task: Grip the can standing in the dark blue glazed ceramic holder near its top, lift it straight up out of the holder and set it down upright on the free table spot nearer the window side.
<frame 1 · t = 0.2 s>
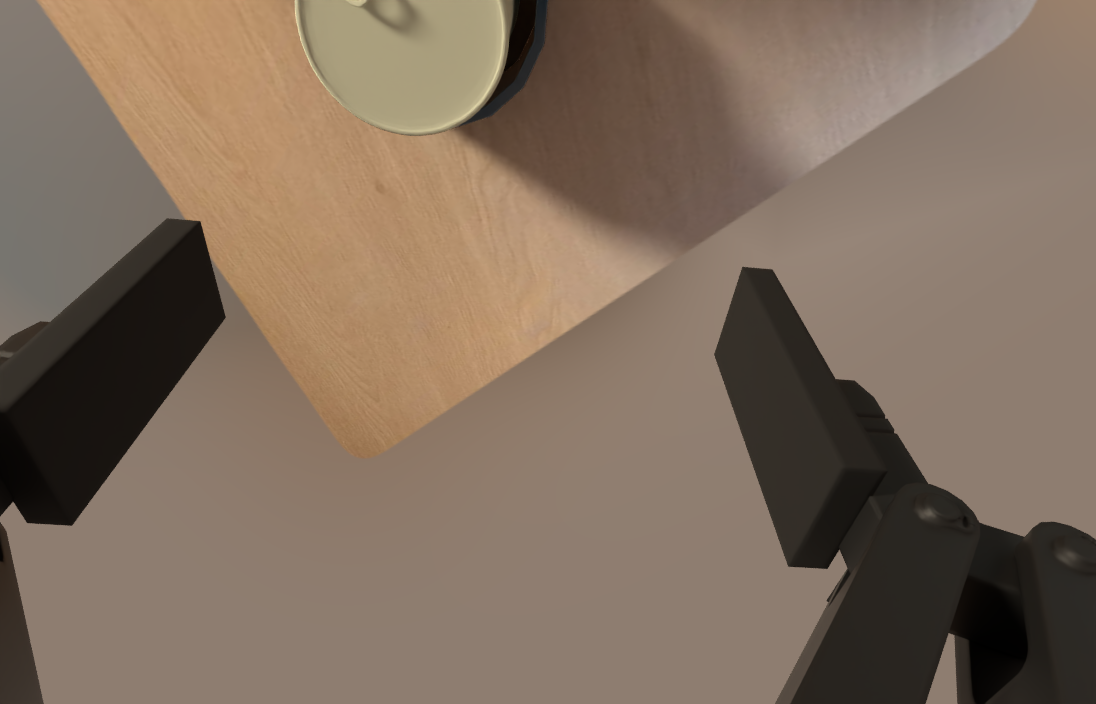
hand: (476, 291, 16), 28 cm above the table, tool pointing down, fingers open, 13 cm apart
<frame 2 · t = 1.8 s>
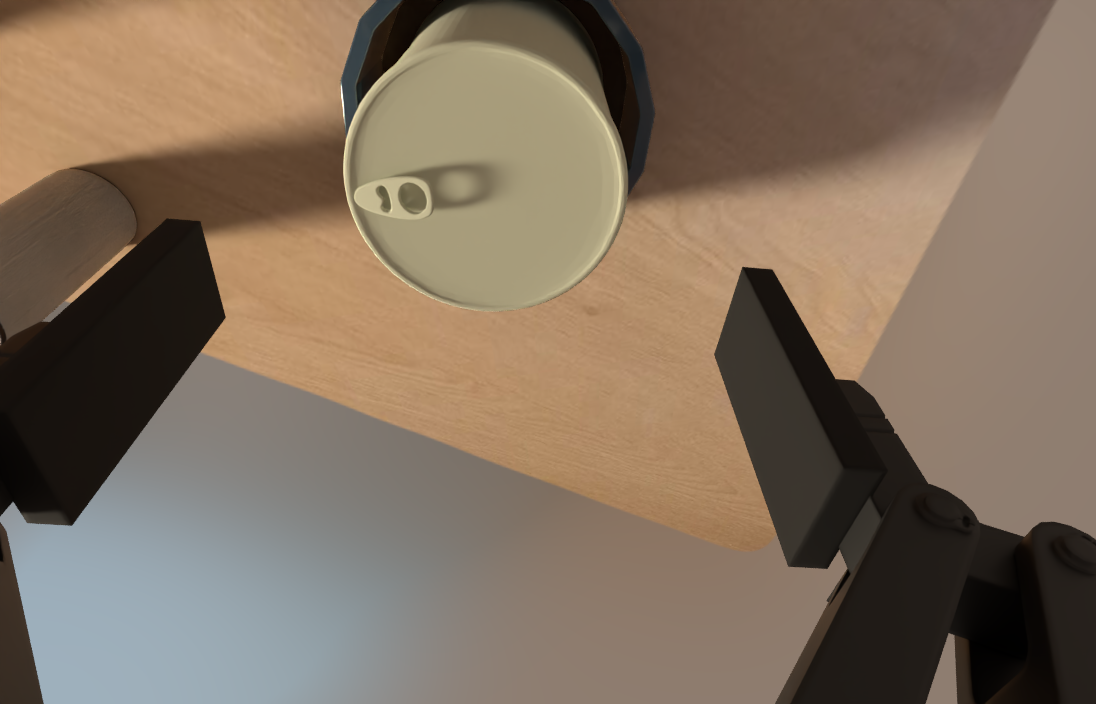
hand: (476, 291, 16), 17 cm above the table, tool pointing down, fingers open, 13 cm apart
can: (505, 93, 29), resting in holder
planter: (93, 208, 33), on the table
holder: (504, 94, 29), on the table
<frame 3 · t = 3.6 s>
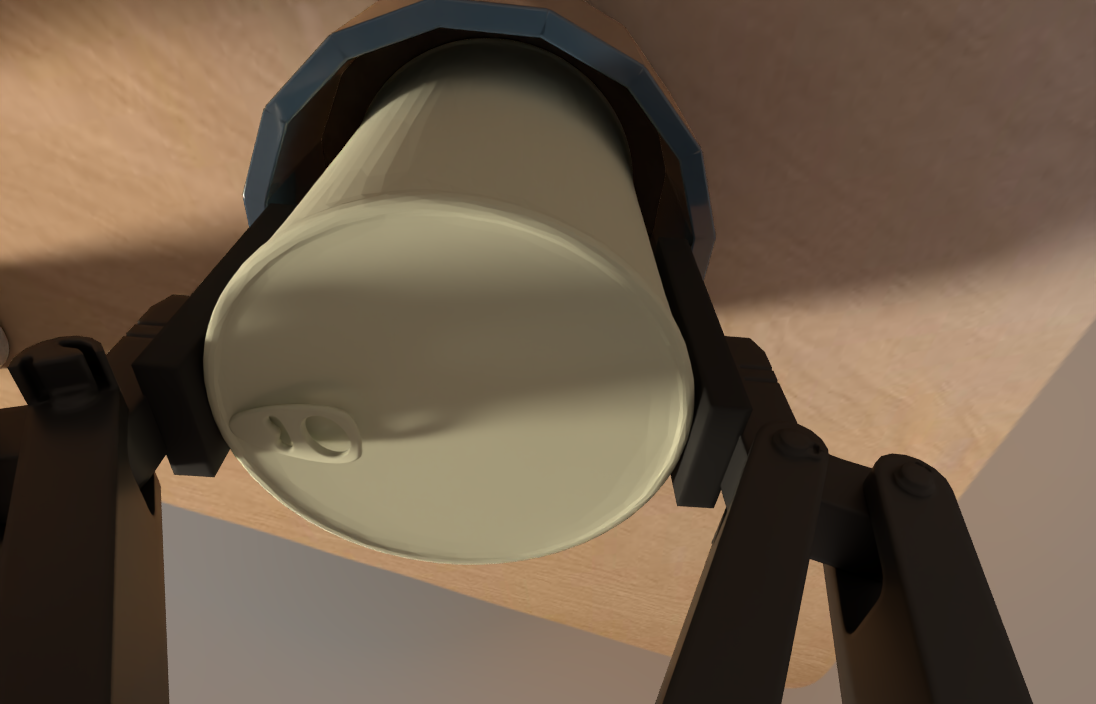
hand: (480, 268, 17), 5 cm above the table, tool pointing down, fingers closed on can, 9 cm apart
can: (495, 184, 21), resting in holder, touching gripper
holder: (495, 187, 21), on the table
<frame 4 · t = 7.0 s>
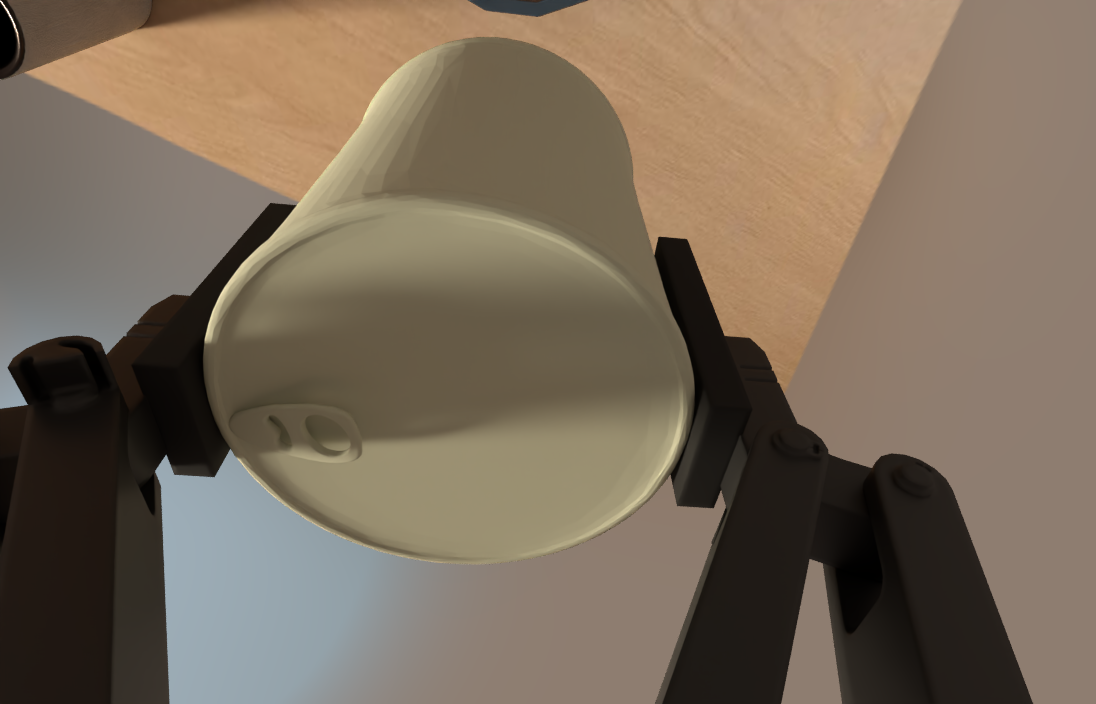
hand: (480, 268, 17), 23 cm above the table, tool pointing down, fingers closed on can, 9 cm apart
can: (495, 184, 21), point 17 cm above the table, touching gripper
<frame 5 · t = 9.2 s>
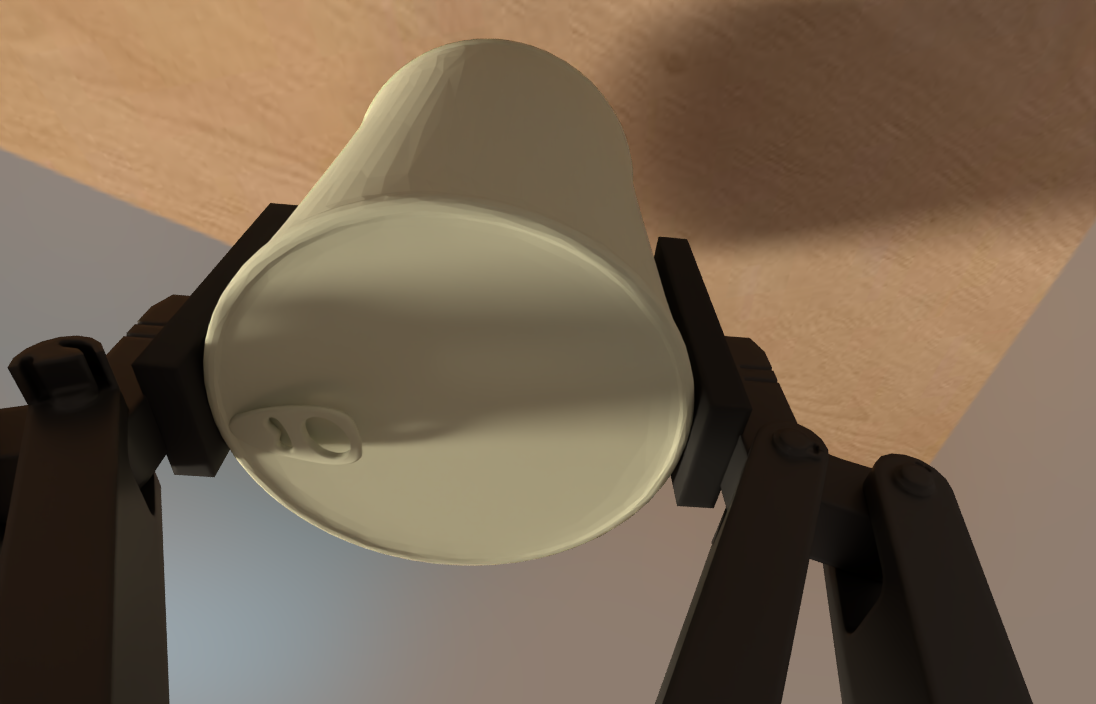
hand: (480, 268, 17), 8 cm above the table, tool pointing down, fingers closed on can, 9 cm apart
can: (495, 185, 21), point 2 cm above the table, touching gripper
when the fingers open (5 cm above the table, at t = 10.5 s): can stays where it is, on the table.
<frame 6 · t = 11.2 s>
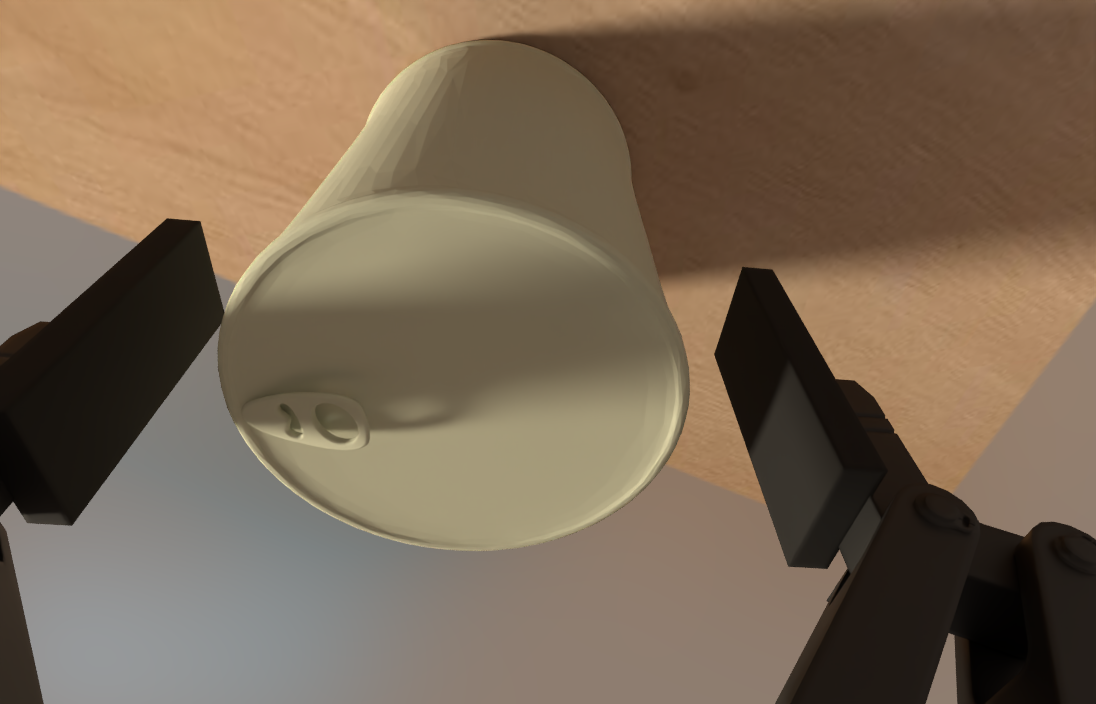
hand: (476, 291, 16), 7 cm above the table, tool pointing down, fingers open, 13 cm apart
can: (497, 183, 22), on the table
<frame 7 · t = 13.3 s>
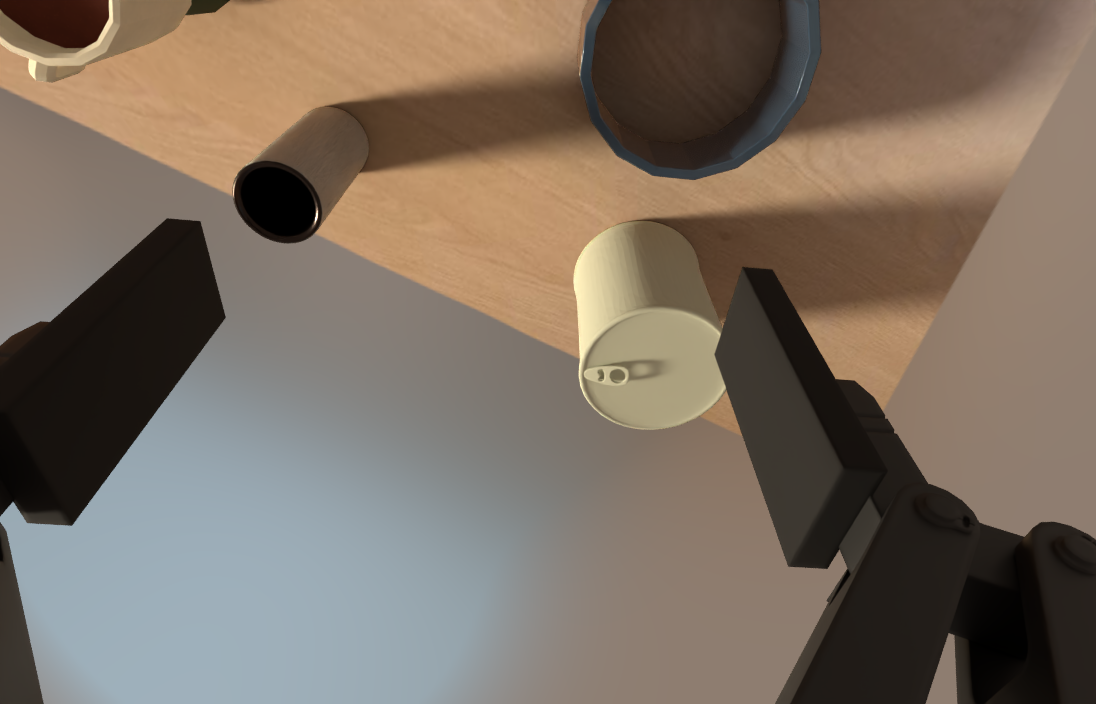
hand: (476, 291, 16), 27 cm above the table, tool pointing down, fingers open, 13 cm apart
can: (635, 276, 46), on the table
planter: (335, 141, 41), on the table
holder: (683, 46, 37), on the table
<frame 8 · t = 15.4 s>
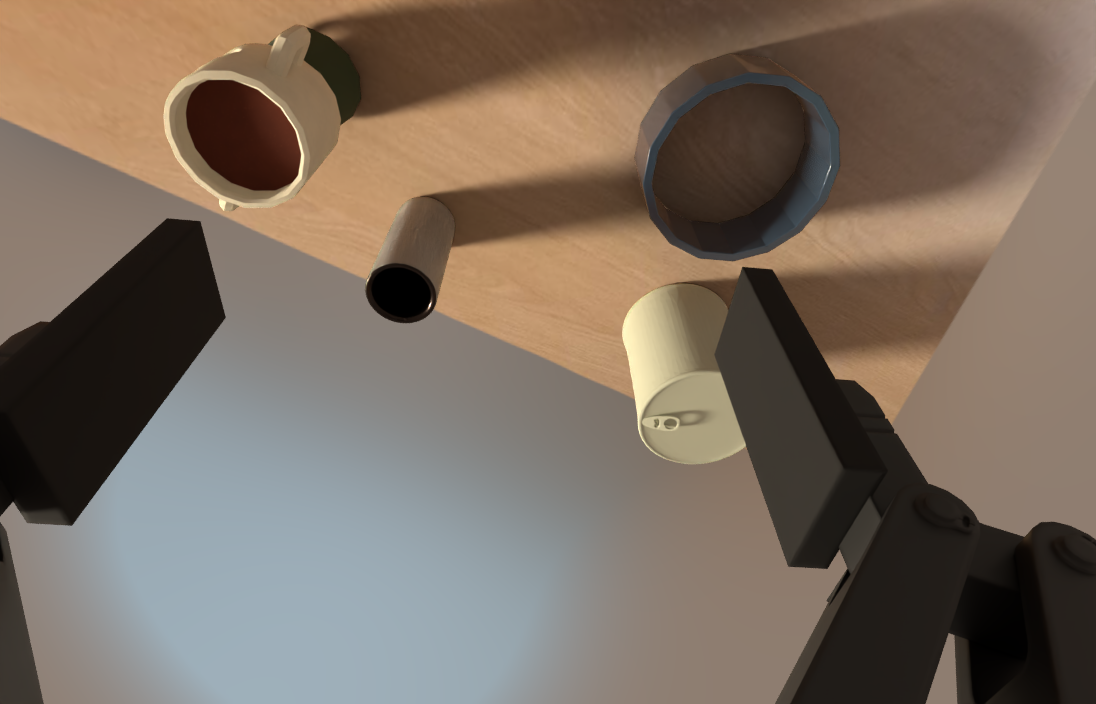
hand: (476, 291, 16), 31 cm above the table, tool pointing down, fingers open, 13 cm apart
character mug: (316, 77, 42), on the table
can: (675, 327, 54), on the table
planter: (426, 222, 48), on the table
holder: (723, 149, 44), on the table
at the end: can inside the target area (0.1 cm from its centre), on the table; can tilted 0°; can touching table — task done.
